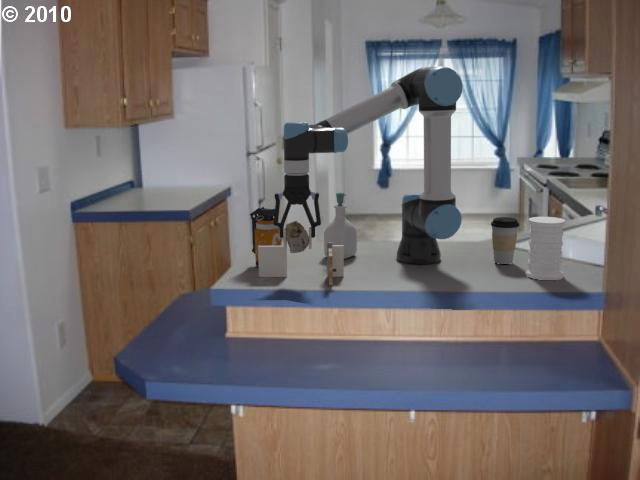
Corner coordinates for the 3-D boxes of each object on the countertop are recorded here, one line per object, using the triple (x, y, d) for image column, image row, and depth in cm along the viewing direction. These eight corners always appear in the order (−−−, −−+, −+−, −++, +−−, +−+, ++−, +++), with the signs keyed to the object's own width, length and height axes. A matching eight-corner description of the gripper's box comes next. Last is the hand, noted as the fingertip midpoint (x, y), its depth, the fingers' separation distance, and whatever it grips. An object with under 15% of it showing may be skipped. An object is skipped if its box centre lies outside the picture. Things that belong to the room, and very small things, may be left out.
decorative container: (545, 283, 224) (548, 224, 220) (517, 274, 233) (519, 219, 229) (571, 277, 230) (574, 220, 226) (542, 269, 239) (545, 215, 235)
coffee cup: (487, 265, 246) (488, 221, 242) (491, 258, 254) (493, 216, 251) (515, 267, 242) (518, 222, 239) (519, 260, 251) (521, 217, 248)
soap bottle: (359, 255, 262) (359, 191, 257) (345, 260, 254) (345, 195, 249) (336, 252, 267) (335, 190, 262) (321, 257, 259) (321, 193, 254)
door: (328, 275, 233) (328, 247, 231) (335, 275, 233) (335, 247, 231) (329, 285, 222) (329, 256, 220) (336, 285, 222) (336, 256, 220)
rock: (312, 249, 219) (306, 217, 220) (290, 253, 219) (284, 220, 219) (310, 253, 231) (304, 222, 232) (289, 257, 231) (284, 225, 232)
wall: (343, 275, 235) (343, 241, 233) (343, 276, 233) (343, 243, 231) (259, 275, 236) (258, 242, 234) (258, 277, 234) (257, 243, 232)
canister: (272, 270, 242) (270, 211, 238) (245, 266, 248) (243, 208, 244) (287, 265, 249) (286, 206, 245) (261, 261, 255) (259, 204, 251)
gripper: (330, 172, 225) (330, 245, 230) (264, 172, 226) (266, 245, 230) (329, 175, 218) (330, 250, 222) (262, 175, 218) (264, 250, 223)
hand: (297, 247), depth 226 cm, fingers closed on rock, 7 cm apart
